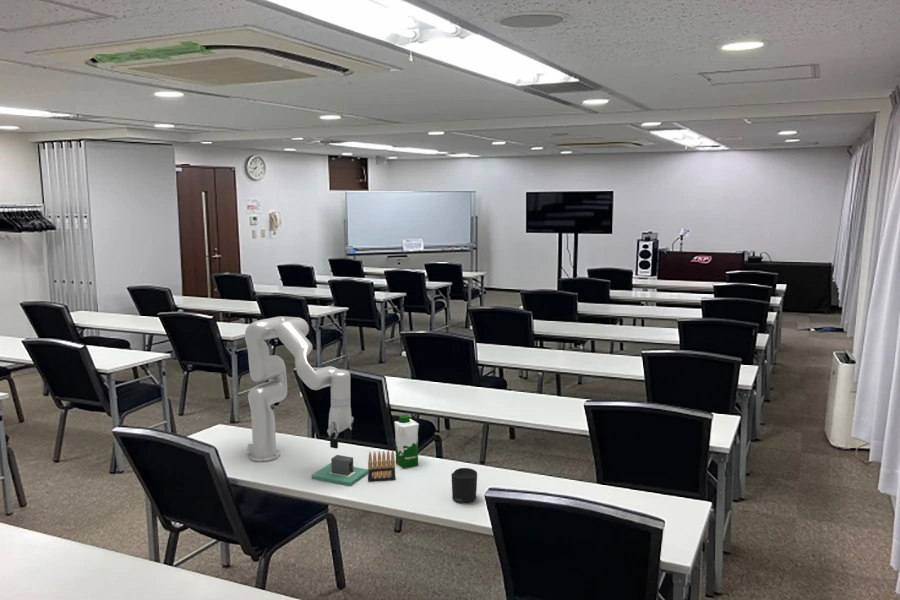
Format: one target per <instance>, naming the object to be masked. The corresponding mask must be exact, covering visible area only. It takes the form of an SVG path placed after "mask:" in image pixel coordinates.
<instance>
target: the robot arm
mask: <svg viewBox="0 0 900 600" xmlns="http://www.w3.org/2000/svg"><path fill="white" fill-rule="evenodd" d="M309 331H310V326H309V324H308V322H307V321H306V320H305V319H303V318H301V317H299V316H298V317H296V316H295V317H294V316H275V317H270V318H264V319H263V318H262V319H259V320H256V321H253V322H251V323H250V324H248V325H247V327H246V328H245V331H244V340H245V342H246V343H245V344H246V347H247V354H248V355H247V356H248V359H247V360H248V368H249V375H250V378H251V380H252V381H253V382H255V383H259V382H260V384H256V385H255V386H253V387H252V388H251V389H249V391H248V394H247V400H248V404H249V408H250V416H251V418H250V419H251V434H252V435H251V436H252V437H251V438H252V439H251V440H252V443H248V444H247V447H246V450H247V451H250V453H249V456H248V457H249V459H250V461H254V462H258V463H259V462H262V463H263V461H264V462H269V461H274V460H276V459H278V458H279V457H281V452H280V450H278V449H277V442H276V441H277V439H276V416H275V413H274V411H273V409H272V407H271V405H274V404H276V403H279V402H282V401H283V400H284V399H286V397H287V395H288V380H287V368H286V364H285V361H284V359H283V358H281V356H279V355H276V354H274V355H270V348H269V346H268V343H267V342H266V340H267V341H268V340H270V339H277V338H278V339H279V341H280V342H281V343H282V344H283V346H285V348H286V349H287V350H288V351H289V353H291V354H292V356H293V357H294V366H295V370H296V374H297V375H298V377H299V378H300V380H301V381H302V382H303V383H304V384H305V385H306V387H308V388H309V389H311V390H314V391H318V390H321V389H323V388H327V387H330V408H329V413H328V428H327V431H326V432H327V434H328V439H329V442H330V443H329V445H330V446H329V447H330V448H331V449H335V450H336V449H339V438H338V436H339V434H340V433H342V432H343V440H345V441H351V440H352V430H353V424H354V423H353V422H354V416H352V408H351V373H350V371H348V370H346V369H340V368H337V367H334V366H331V365H330V366H325V367H321V368H318V369H314V368H313V367H312V366H311V364H310V363H309V362H308V360H307V357H308V355H310V353H311V352H312V350H313V344H312V342H311V341H310V340H309V339H308V338H307V337H306V336H307V335H308V334H309ZM267 380H268V381H267ZM264 381H267V382H264ZM261 382H263V383H261Z"/></svg>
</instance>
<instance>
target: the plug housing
mask: <svg viewBox="0 0 900 600" xmlns="http://www.w3.org/2000/svg"><path fill="white" fill-rule="evenodd" d="M330 459H331V460H330V461H331V462H330V463H331V466H332V473H335V474H340V475H346V476H349V471H350V472H351V473H353V472H354V468H353V467H354V457H352V456H347V455H339V454H336V455H334V456H333V457H331V458H330Z"/></svg>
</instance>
